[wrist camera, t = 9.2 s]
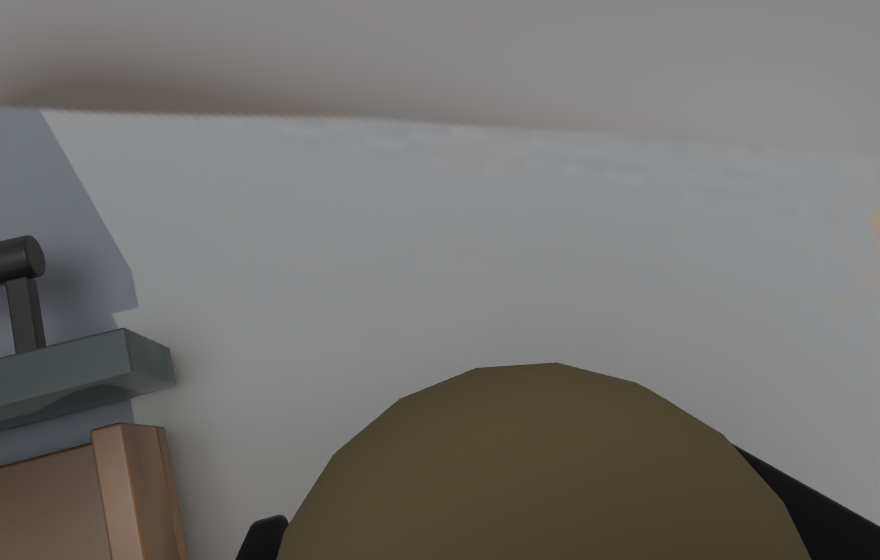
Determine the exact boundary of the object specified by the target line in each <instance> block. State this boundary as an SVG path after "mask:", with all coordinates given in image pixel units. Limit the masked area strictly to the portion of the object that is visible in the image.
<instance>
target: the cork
mask: <svg viewBox="0 0 880 560" xmlns="http://www.w3.org/2000/svg"><path fill="white" fill-rule="evenodd" d="M276 560H812V559H811V557H810V555H809V553H808V551H807V549H806V547H805V545H804V543H803V541H802V539H801V537H800V535H799V533H798V531H797V529H796V527H795V525H794V523H793V521H792V519H791V517H790V514H789V512H788V510H787V508H786V506H785V504H784V502H783V501H782V500H781V499H780V498H779V496H778V495H777V494H776V493H775V492H774V491H773V490H772V489H771V488H770V486H769V485H768V484H767V483H766V482H765V481H764V480H763V479H762V478H761V476H760V475H759V474H758V473H757V472H756V471H755V470H754V469H753V467H752V466H751V465H750V464H749V463H748V462H747V461H746V460H745V459H744V457H743V456H742V455H741V454H740V453H739V452H738V451H737V450H736V449H735V447H734V446H733V445H732V444H731V443H730V442H729V441H728V440H727V439H726V437H725V436H724V435H723V434H721V433H719V432H718V431H716V430H715V429H713V428H711V427H710V426H708V425H706V424H705V423H703V422H701V421H700V420H698V419H697V418H695V417H693V416H692V415H690V414H688V413H687V412H685V411H684V410H682V409H680V408H679V407H677V406H675V405H674V404H672V403H671V402H669V401H667V400H666V399H664V398H662V397H661V396H659V395H658V394H656V393H654V392H653V391H651V390H649V389H647V388H645V387H643V386H641V385H639V384H637V383H635V382H631V381H627V380H623V379H619V378H615V377H611V376H607V375H603V374H599V373H595V372H591V371H587V370H583V369H579V368H575V367H571V366H568V365H564V364H560V363H545V364H530V365H515V366H500V367H485V368H475V369H473V370H470V371H468V372H465V373H463V374H460V375H458V376H455V377H453V378H450V379H448V380H445V381H443V382H441V383H438V384H436V385H433V386H431V387H428V388H426V389H423V390H421V391H418V392H416V393H413V394H411V395H408V396H406V397H404V398H401V399H399V400H398V401H397V402H395V403H394V404H393V405H392V406H391V407H390V408H388V409H387V410H386V411H385V412H384V413H382V414H381V415H380V416H379V417H378V418H376V419H375V420H374V421H373V422H372V423H370V424H369V425H368V426H367V427H366V428H365V429H363V430H362V431H361V432H360V433H359V434H357V435H356V436H355V437H354V438H353V439H351V440H350V441H349V442H348V443H347V444H345V445H344V446H343V447H342V448H341V449H340V450H338V451H337V452H336V453H335V454H334V455H333V456H332V458H331V459H330V461H329V462H328V464H327V466H326V467H325V469H324V470H323V472H322V473H321V475H320V476H319V478H318V480H317V481H316V483H315V484H314V486H313V487H312V489H311V491H310V492H309V494H308V495H307V497H306V498H305V500H304V501H303V503H302V505H301V506H300V508H299V509H298V511H297V512H296V514H295V516H294V517H293V519H292V520H291V522H290V523H289V525H288V527H287V528H286V530H285V531H284V535H283V538H282V542H281V545H280V549H279V552H278V556H277V559H276Z"/></svg>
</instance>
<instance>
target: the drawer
mask: <svg viewBox="0 0 880 560" xmlns="http://www.w3.org/2000/svg"><path fill="white" fill-rule="evenodd" d="M44 273H45V258H44V254H43V251H42V249H41V247H40V245H39V243H38V242H37V240H36V239H35V238H34V237H32V236H30V235H25V236H21V237H17V238H12V239H8V240H3V241H0V286H3V285H6V290H7V296H8V303H9V310H10V317H11V324H12V331H13V337H14V344H15V351H16V354H13V355H9V356H5V357H1V358H0V431H1V430H5V429H9V428H13V427H16V426H20V425H24V424H28V423H32V422H36V421H40V420H44V419H48V418H52V417H56V416H59V415H63V414H67V413H71V412H75V411H79V410H83V409H87V408H91V407H95V406H98V405H102V404H106V403H110V402H114V401H118V400H122V399H126V398H130V397H134V396H138V395H141V394H145V393H149V392H153V391H157V390H161V389H165V388H169V387H173V386H175V385H176V381H175V376H174V371H173V366H172V360H171V355H170V350H169V348H168V347H165V346H163V345H161V344H159V343H157V342H154V341H152V340H150V339H148V338H146V337H143V336H141V335H139V334H137V333H135V332H133V331H130V330H128V329H126V328H120V329H116V330H112V331H107V332H103V333H99V334H95V335H91V336H87V337H83V338H79V339H75V340H71V341H67V342H62V343H58V344H54V345H50V346H46V342H45V335H44V329H43V322H42V316H41V309H40V303H39V297H38V290H37V284H36V281H35V280H33V278H37V277H41V276H42V275H43V274H44ZM90 434H91V440H92V443H88V444H84V445H80V446H76V447H72V448H69V449H65V450H61V451H57V452H53V453H49V454H46V455H42V456H38V457H34V458H30V459H27V460H23V461H19V462H15V463H11V464H7V465H4V466H0V560H189V558H188V553H187V547H186V542H185V537H184V531H183V526H182V521H181V515H180V510H179V504H178V499H177V494H176V488H175V483H174V478H173V472H172V467H171V461H170V456H169V451H168V445H167V440H166V434H165V429H164V428H163V427H157V426H149V425H139V424H129V423H115V424H112V425H108V426H104V427H100V428H96V429H93V430H92V431H91V433H90Z"/></svg>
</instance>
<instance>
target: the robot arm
mask: <svg viewBox="0 0 880 560" xmlns="http://www.w3.org/2000/svg"><path fill="white" fill-rule="evenodd" d="M731 444H732V443H731ZM732 445H733V444H732ZM733 446H734V447H735V449H736V450H737V451H738V452H739V453H740V454H741V455H742V456H743V457H744V459H745V460H746V461H747V462H748V463H749V464H750V465H751V466H752V467H753V469H754V470H755V471H756V472H757V473H758V474H759V475H760V476H761V478H762V479H763V480H764V481H765V482H766V483H767V484H768V485H769V486H770V488H771V489H772V490H773V491H774V492H775V493H776V494H777V495H778V496H779V498H780V499H781V500H782V501H783V502H784V504H785V506H786V508H787V510H788V512H789V514H790V517H791V519H792V521H793V523H794V525H795V527H796V529H797V531H798V533H799V535H800V537H801V539H802V541H803V543H804V545H805V547H806V549H807V551H808V553H809V555H810V557H811V559H812V560H880V526H878V525H876V524H874V523H873V522H871V521H869V520H867V519H865V518H864V517H862V516H860V515H858V514H856V513H855V512H853V511H851V510H849V509H848V508H846V507H844V506H842V505H840V504H839V503H837V502H835V501H833V500H832V499H830V498H828V497H826V496H824V495H823V494H821V493H819V492H817V491H815V490H814V489H812V488H810V487H808V486H807V485H805V484H803V483H801V482H799V481H798V480H796V479H794V478H792V477H791V476H789V475H787V474H785V473H783V472H782V471H780V470H778V469H776V468H774V467H773V466H771V465H769V464H767V463H766V462H764V461H762V460H760V459H758V458H757V457H755V456H753V455H751V454H749V453H748V452H746V451H744V450H742V449H741V448H739V447H737V446H735V445H733ZM288 525H289V523H288V521H287V519H286V517H285V516H283V515H276V516H273V517H269V518H265V519H262V520H258V521H256V522H254V523H253V524H252V525H251V527H250V529H249V531H248V533H247V535H246V538H245V540H244V542H243V544H242V546H241V548H240V551H239V553H238V555H237V557H236V559H235V560H276V559H277V556H278V552H279V549H280V545H281V542H282V538H283V535H284V531H285V530H286V528H287V527H288Z"/></svg>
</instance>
